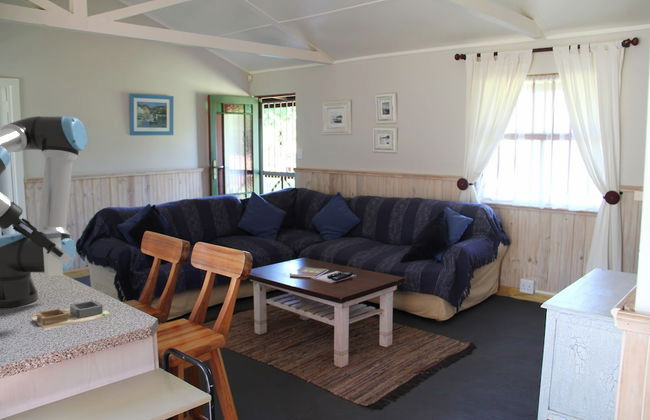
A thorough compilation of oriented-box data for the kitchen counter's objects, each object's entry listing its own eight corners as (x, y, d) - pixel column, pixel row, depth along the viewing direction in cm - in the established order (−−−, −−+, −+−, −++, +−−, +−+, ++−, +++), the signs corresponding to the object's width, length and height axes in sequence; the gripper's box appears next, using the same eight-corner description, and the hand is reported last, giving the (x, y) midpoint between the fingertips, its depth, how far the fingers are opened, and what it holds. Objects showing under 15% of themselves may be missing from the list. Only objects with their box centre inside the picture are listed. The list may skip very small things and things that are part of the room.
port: (69, 312, 178) (68, 304, 178) (94, 307, 184) (94, 299, 183) (80, 320, 171) (79, 312, 171) (106, 314, 176) (106, 307, 176)
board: (29, 320, 174) (29, 316, 174) (95, 307, 188) (94, 303, 188) (45, 334, 163) (45, 330, 163) (114, 319, 176) (113, 315, 176)
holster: (36, 319, 172) (35, 312, 171) (61, 314, 177) (61, 308, 176) (43, 325, 166) (43, 319, 166) (69, 320, 171) (69, 313, 171)
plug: (44, 274, 170) (41, 231, 168) (59, 272, 173) (56, 230, 171) (48, 277, 167) (45, 234, 165) (63, 275, 170) (61, 232, 168)
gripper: (-15, 217, 164) (49, 264, 177) (-2, 225, 151) (66, 275, 164) (4, 197, 166) (66, 245, 180) (19, 203, 154) (84, 255, 167)
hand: (66, 259), depth 172 cm, fingers closed on plug, 4 cm apart
